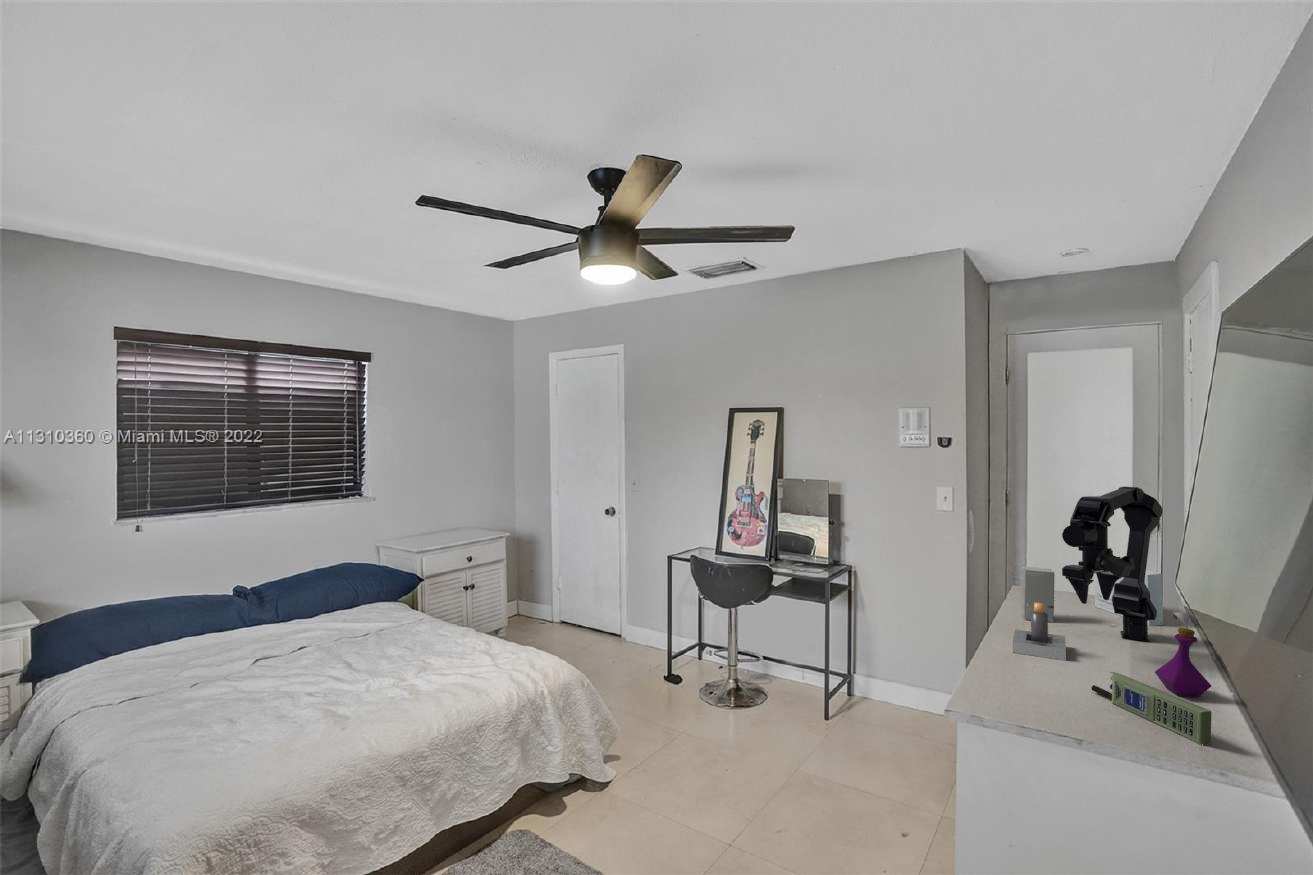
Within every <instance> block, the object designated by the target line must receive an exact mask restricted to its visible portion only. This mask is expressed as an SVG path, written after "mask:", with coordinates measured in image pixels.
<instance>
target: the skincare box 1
mask: <svg viewBox="0 0 1313 875" xmlns="http://www.w3.org/2000/svg"><path fill="white" fill-rule="evenodd" d="M1021 570H1022V571H1021V576H1022V577H1021V615H1022V617H1023V618H1024V620H1025V621H1031V611H1034V603H1043V604H1044V612H1045V613H1047V614H1048V623H1054V620H1055V571H1053V570H1052V569H1051V568H1044V567H1043V568H1041V567H1036V566H1035V567H1032V566H1021Z"/></svg>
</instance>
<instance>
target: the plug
mask: <svg viewBox="0 0 1313 875" xmlns="http://www.w3.org/2000/svg"><path fill="white" fill-rule="evenodd" d="M1030 632H1031V641H1036V642H1043V643H1048V634H1049V622H1048V614H1047V613H1045V612H1044V604H1043V603H1034V611H1031V620H1030Z"/></svg>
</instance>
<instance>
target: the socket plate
mask: <svg viewBox="0 0 1313 875" xmlns="http://www.w3.org/2000/svg"><path fill="white" fill-rule="evenodd" d="M1066 646H1067V644H1066V635H1058V634H1052V633H1051V634H1050V633H1048V643H1043V642H1036V641H1031V630H1030V631H1029V630H1021V629H1014V634H1013V639H1012V653H1013V652H1015V653H1014V654H1019V655H1025V656H1026V655H1027V656H1031V657H1032V656H1033V657H1039V658H1046V659H1053V660H1058V661H1067V647H1066Z"/></svg>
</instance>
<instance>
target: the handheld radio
mask: <svg viewBox="0 0 1313 875" xmlns="http://www.w3.org/2000/svg"><path fill="white" fill-rule="evenodd" d="M1109 673H1110V675H1111V676H1110V677H1109V678H1110V680H1112V683H1111V684H1110V685H1109V688H1110V690H1111V692H1109V691H1108V690H1106V689H1104V688H1101V687H1099V686H1097V685H1094V684H1093V685H1092V686H1091V687H1090V688H1091V690H1092V692H1095V693H1097V694H1100V695H1101V696H1103V697H1106V698H1108V699H1109V698H1110V699H1111V700H1110V702H1109V703H1111V704H1112V705H1114V706H1117V707H1119V708H1121V709H1123V710H1125V711H1127V712H1129V713H1131V714H1134V715H1135V716H1139V717H1140V718H1142V719H1145V720H1146V719H1147V721H1149V722H1151V723H1153V724H1155V723H1156V724H1155V725H1157V724H1158V726H1159V725H1160V726H1159V727H1162V728H1164V729H1166V728H1167V729H1166V730H1168V729H1169V730H1168V731H1170V730H1171V732H1172V731H1173V732H1172V733H1174V732H1176V733H1175V734H1177V733H1178V734H1177V735H1179V734H1180V735H1179V736H1181V735H1182V736H1181V737H1183V736H1184V737H1183V738H1185V737H1186V738H1185V739H1187V738H1189V739H1190V741H1192V740H1193V741H1192V742H1194V743H1196V742H1197V743H1196V744H1198V743H1199V744H1198V745H1200V744H1201V746H1206V745H1205V744H1209V743H1211V744H1212V741H1211V740H1212V713H1213V712H1212V711H1211V710H1210V709H1207V708H1205V707H1202V706H1200V705H1199V704H1195V703H1193V702H1191V701H1188V700H1185V699H1184V698H1181V697H1179V696H1177V695H1175V694H1174V695H1173V694H1171V693H1168V692H1166V691H1163V690H1162V689H1159V688H1157V687H1154V686H1151V685H1149V684H1146V683H1144V682H1142V681H1139V680H1137V679H1135V678H1132V677H1130V676H1127V675H1125V674H1122V673H1118V672H1116V671H1109ZM1189 739H1188V740H1189ZM1202 744H1203V745H1202Z"/></svg>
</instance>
